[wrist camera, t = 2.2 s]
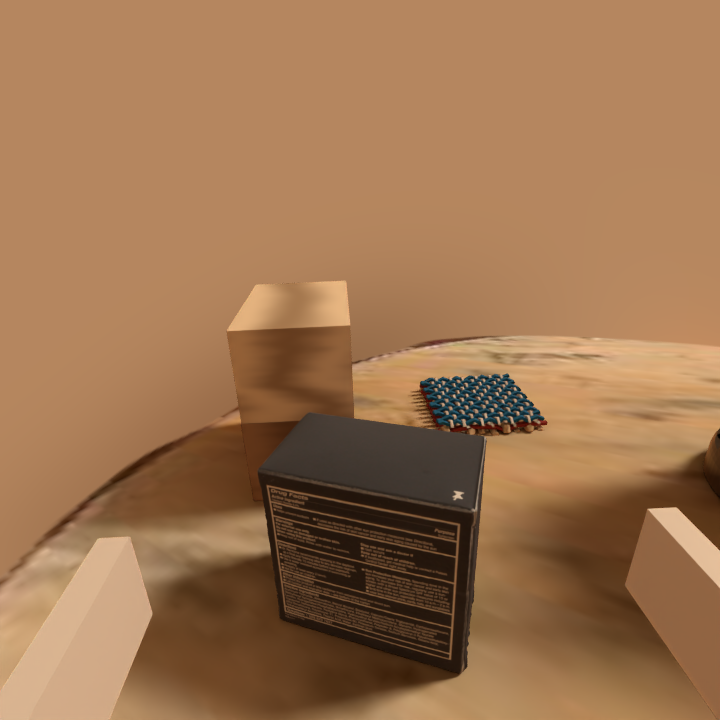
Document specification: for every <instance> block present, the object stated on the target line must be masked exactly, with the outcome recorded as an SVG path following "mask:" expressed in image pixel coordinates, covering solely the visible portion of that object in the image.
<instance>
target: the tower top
mask: <svg viewBox="0 0 720 720" xmlns="http://www.w3.org/2000/svg"><path fill="white" fill-rule="evenodd" d="M227 337H228V344H229V349H230V356H231V362H232V368H233V374H234V381H235V386H236V392H237V399H238V405H239V411H240V418H241V424H248V423H267V422H285V421H300V420H301V419H302V418H303V417H304V416H305V415H306V414H307V413H309V412H312V413H319V414H326V415H333V416H340V417H347V418H354V403H353V379H352V358H351V335H350V318H349V309H348V297H347V287H346V281H330V282H308V283H286V284H261V285H256V286H255V287H254V289H253V291H252V292H251V294H250V295H249V297H248V298H247V300H246V301H245V303H244V305H243V306H242V308H241V309H240V311H239V312H238V314H237V316H236V317H235V319H234V320H233V322H232V324H231V325H230V326H229V328H228V330H227Z"/></svg>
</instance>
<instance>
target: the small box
mask: <svg viewBox="0 0 720 720" xmlns="http://www.w3.org/2000/svg"><path fill="white" fill-rule="evenodd" d="M486 442H487V441H486V438H485V437H484V436H477V435H470V434H463V433H456V432H448V431H441V430H434V429H426V428H419V427H412V426H405V425H397V424H390V423H383V422H376V421H369V420H361V419H354V418H347V417H340V416H333V415H326V414H319V413H312V412H309V413H307V414H306V415H305V416H304V417H303V418H302V419H301V420H300V421H299V422H298V424H297V425H296V426H295V427H294V428H293V429H292V430H291V432H290V433H289V434H288V435H287V436H286V437H285V438H284V440H283V441H282V442H281V443H280V444H279V445H278V447H277V448H276V449H275V450H274V451H273V452H272V454H271V455H270V456H269V457H268V458H267V460H266V461H265V462H264V463H263V464H262V465H261V466H260V467H259V469H258V471H257V473H258V479H259V483H260V487H261V489H262V498H263V501H264V507H265V513H266V514H265V516H266V519H267V528H268V536H269V542H270V549H271V556H272V562H273V570H274V574H275V584H276V588H277V593H278V594H277V597H278V604H279V616H280V619H282V620H284V621H288V622H291V623H294V624H297V625H300V626H304V627H307V628H310V629H314V630H317V631H320V632H323V633H327V634H330V635H333V636H337V637H340V638H343V639H347V640H350V641H353V642H356V643H360V644H363V645H367V646H370V647H373V648H376V649H379V650H383V651H386V652H389V653H393V654H396V655H399V656H403V657H406V658H409V659H413V660H415V661H419V662H422V663H426V664H430V665H433V666H436V667H439V668H443V669H446V670H450V671H453V672H456V673H459V674H461V673H462V672H463V671H464V670H465V669H466V668H467V654H468V652H467V646H468V644H469V643H468V636H469V634H470V632H469V628H470V627H469V624H470V617H471V608H472V603H473V602H474V599H473V598H474V580H475V569H476V558H477V547H478V534H479V523H480V511H481V498H482V485H483V473H484V461H485V449H486Z"/></svg>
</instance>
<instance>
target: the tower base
mask: <svg viewBox="0 0 720 720" xmlns="http://www.w3.org/2000/svg"><path fill="white" fill-rule="evenodd" d="M298 422H299V421H285V422H267V423H248V424H241V427H242V433H243V439H244V445H245V451H246V457H247V464H248V470H249V476H250V482H251V488H252V494H253V500H254V501H261V500H263V498H262V489H261V487H260V483H259V479H258V473H257V471H258V469H259V467H260V466H261V465H262V464H263V463H264V462H265V461H266V460H267V458H268V457H269V456H270V455H271V454H272V452H273V451H274V450H275V449H276V448H277V447H278V445H279V444H280V443H281V442H282V441H283V440H284V438H285V437H286V436H287V435H288V434H289V433H290V432H291V430H292V429H293V428H294V427H295V426H296V425H297V424H298Z"/></svg>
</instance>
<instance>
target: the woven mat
mask: <svg viewBox="0 0 720 720" xmlns="http://www.w3.org/2000/svg"><path fill="white" fill-rule="evenodd" d="M508 377H509V375H508V374H505V375H497V374H494V375H492V376H490V375H488V377H487V376H484V375H479V376H478V377H477V376H468V377H466V378H465V379H464V378H463V377H458V376H455V377H454V378H451V377H449V379H447V378H444V377H442V378H440V379H437V378H428V379H427V380H425V381H421V382H420V388H423V390H421V393H422V394H423V396H424V398H426V402H429V404H427V405H426V406H427V407H428V408H429V410H432V411H430V413H431V415H432V418H434V419H433V421H434V422H436V423H435V425H436V427H439V428H440V429H437V430H441V431H448V432H456V433H462V432H461V431H465V430H466V432H467V434H470V435H474V434H475V431H476V430H474V429H478V433H479V434H485V433H486V432H485V429H489V430H490V432H491V434H492V435H493V436H495V435H499V433H498V432H497V430H496V429H498V430H500V431H503V432H504V433H510V432H511V430H514V432H520V430H519V428H518V427H523V428H524V429H525V430H526V431H527V432H532V431H533V430H534V426H535V427H536V428H537V430H538V431H542V430H544V429H543V428H542V426H541V425H547V421H546V420H545V421H543V420H544V419H545V418H544V417H543V416H540V414H541V413H540V411H539V410H537V409H536V408H534V407H533V406H534V404H533V403H532V402H530V401H529V400H527V399H526V398H527V396H526V395H525V394H523V393H522V392H520V391H521V389H520V388H519V387H518V386H516V385H514V384H515V382H514V380H512V379H509V378H508ZM429 382H430V383H429ZM457 382H458V383H457ZM516 422H519V423H516ZM508 423H509V424H508ZM496 424H497V425H496ZM509 425H510V426H509ZM448 426H449V427H451V429H449V427H448Z"/></svg>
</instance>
